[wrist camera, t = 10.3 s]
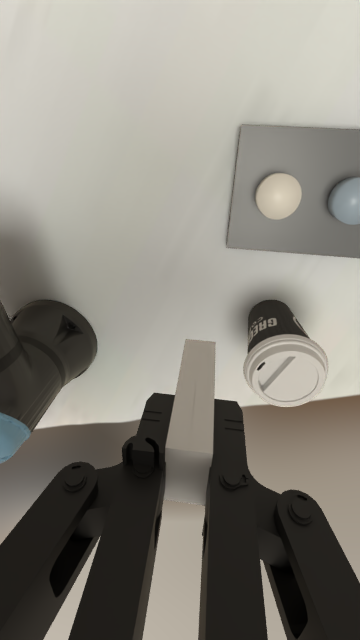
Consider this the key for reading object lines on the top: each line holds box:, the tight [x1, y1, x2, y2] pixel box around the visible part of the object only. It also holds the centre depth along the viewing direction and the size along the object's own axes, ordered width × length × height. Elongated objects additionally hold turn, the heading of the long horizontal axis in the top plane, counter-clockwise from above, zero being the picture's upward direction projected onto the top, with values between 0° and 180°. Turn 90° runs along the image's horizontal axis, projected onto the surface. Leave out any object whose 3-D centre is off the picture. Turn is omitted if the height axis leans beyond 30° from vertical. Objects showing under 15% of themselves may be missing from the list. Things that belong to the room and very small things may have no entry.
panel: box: [227, 125, 360, 258], centre depth 37 cm, size 27×14×2 cm, turn 87°
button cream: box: [255, 173, 302, 219], centre depth 36 cm, size 5×5×4 cm
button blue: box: [328, 177, 360, 225], centre depth 35 cm, size 5×5×4 cm
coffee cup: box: [243, 300, 328, 407], centre depth 40 cm, size 10×10×15 cm
